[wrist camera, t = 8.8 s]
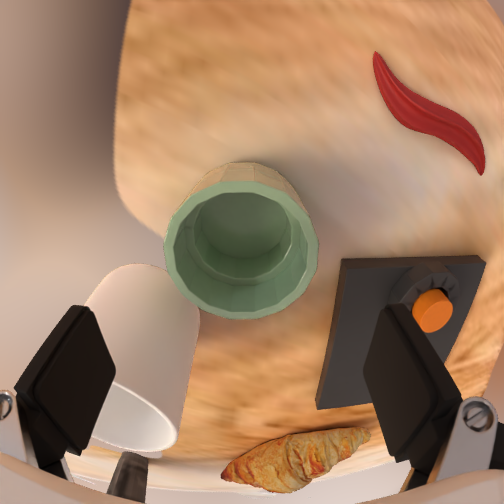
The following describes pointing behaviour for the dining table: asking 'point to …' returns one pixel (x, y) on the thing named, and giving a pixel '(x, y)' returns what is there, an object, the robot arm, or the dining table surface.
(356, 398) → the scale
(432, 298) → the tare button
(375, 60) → the cayenne pepper
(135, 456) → the beverage cup
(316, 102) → the dining table surface
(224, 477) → the croissant
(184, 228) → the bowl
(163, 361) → the cup
